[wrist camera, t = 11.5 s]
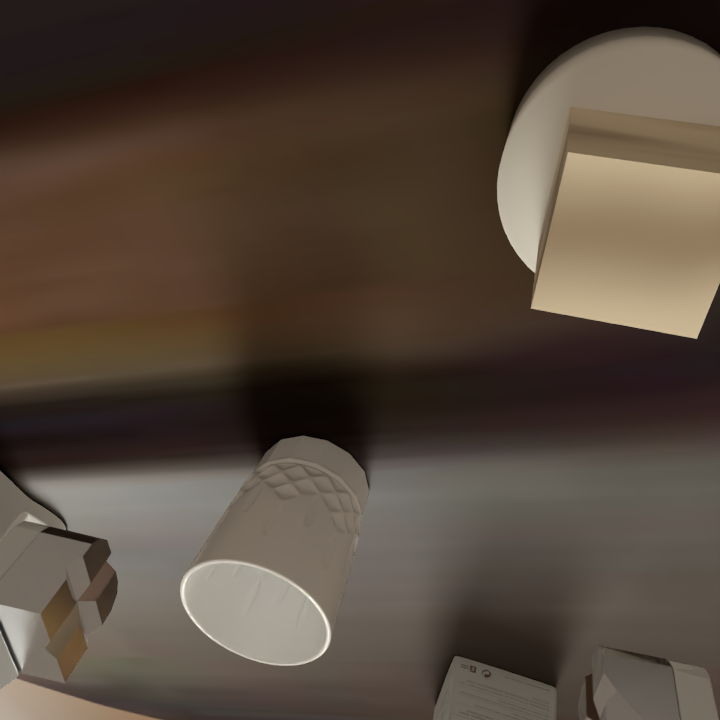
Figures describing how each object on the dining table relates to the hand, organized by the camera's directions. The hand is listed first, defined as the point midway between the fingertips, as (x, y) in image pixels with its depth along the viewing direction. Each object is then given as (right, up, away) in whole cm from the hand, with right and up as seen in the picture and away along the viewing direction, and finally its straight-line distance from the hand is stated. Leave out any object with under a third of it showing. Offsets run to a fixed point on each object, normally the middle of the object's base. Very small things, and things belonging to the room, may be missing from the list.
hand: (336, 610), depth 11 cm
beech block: (+10, +10, +13) cm, 19 cm away
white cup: (-2, -3, +31) cm, 31 cm away
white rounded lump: (+11, +12, +16) cm, 23 cm away
